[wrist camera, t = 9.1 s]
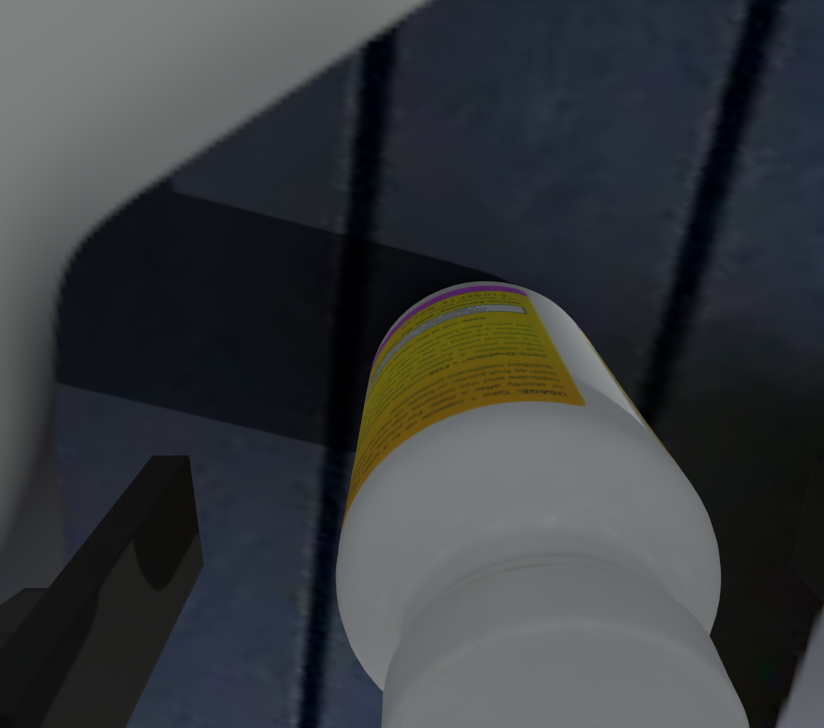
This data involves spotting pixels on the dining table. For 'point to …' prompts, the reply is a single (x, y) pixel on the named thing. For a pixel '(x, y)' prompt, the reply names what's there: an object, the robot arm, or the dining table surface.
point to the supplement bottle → (523, 533)
